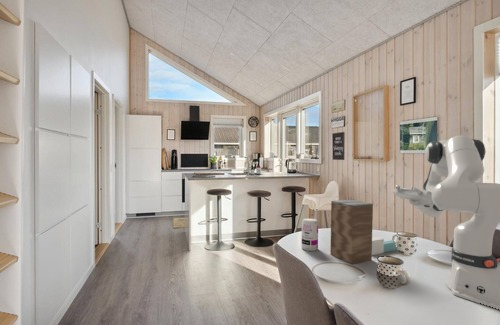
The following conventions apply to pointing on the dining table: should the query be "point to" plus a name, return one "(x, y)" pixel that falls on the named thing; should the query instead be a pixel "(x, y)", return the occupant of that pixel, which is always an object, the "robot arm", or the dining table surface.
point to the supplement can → (310, 234)
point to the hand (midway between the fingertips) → (404, 187)
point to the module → (382, 245)
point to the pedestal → (351, 230)
